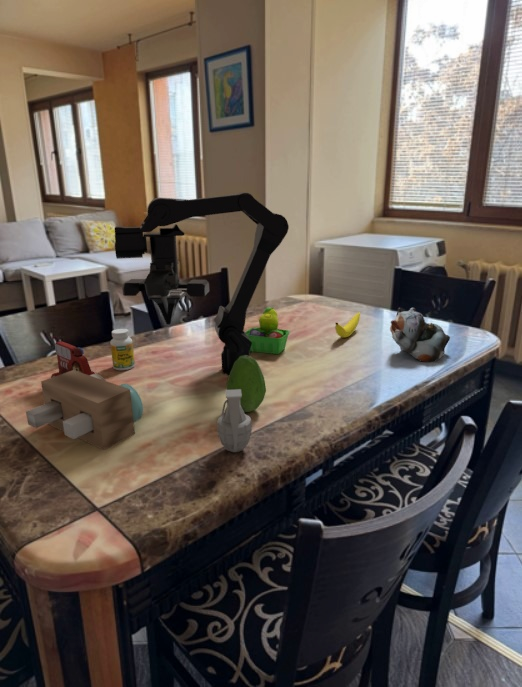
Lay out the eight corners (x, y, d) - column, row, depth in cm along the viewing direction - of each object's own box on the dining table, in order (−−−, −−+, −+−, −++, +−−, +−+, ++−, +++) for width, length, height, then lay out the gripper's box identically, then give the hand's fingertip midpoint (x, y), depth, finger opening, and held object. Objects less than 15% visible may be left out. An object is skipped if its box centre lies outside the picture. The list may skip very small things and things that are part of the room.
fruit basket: (241, 351, 135) (240, 311, 132) (254, 342, 143) (253, 304, 139) (281, 356, 131) (281, 315, 127) (291, 346, 139) (292, 307, 135)
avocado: (252, 422, 96) (251, 364, 92) (219, 413, 100) (217, 357, 96) (273, 406, 102) (272, 352, 99) (241, 398, 106) (240, 346, 103)
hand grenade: (218, 442, 89) (215, 386, 85) (250, 440, 89) (249, 384, 86) (218, 461, 83) (215, 402, 79) (253, 460, 83) (252, 400, 80)
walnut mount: (90, 406, 104) (84, 365, 101) (145, 427, 94) (141, 384, 92) (22, 434, 92) (14, 390, 90) (78, 463, 83) (71, 414, 80)
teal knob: (118, 415, 99) (114, 379, 96) (144, 425, 94) (141, 388, 92) (58, 443, 88) (52, 404, 86) (84, 456, 84) (78, 415, 82)
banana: (363, 328, 155) (364, 308, 153) (340, 345, 140) (341, 323, 138) (354, 326, 156) (355, 307, 154) (330, 343, 141) (331, 322, 139)
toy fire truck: (77, 401, 106) (70, 356, 103) (48, 387, 114) (41, 344, 111) (105, 391, 111) (100, 347, 108) (76, 378, 119) (70, 336, 116)
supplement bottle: (130, 361, 129) (127, 326, 126) (138, 368, 124) (134, 331, 121) (110, 366, 126) (106, 330, 123) (117, 372, 122) (112, 335, 119)
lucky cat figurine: (437, 366, 123) (414, 319, 119) (396, 373, 132) (373, 328, 128) (457, 335, 132) (436, 290, 129) (417, 343, 141) (396, 301, 138)
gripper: (109, 262, 103) (117, 333, 108) (197, 262, 102) (201, 335, 106) (128, 254, 114) (134, 319, 119) (208, 254, 112) (211, 321, 117)
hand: (169, 324), depth 115 cm, fingers closed
